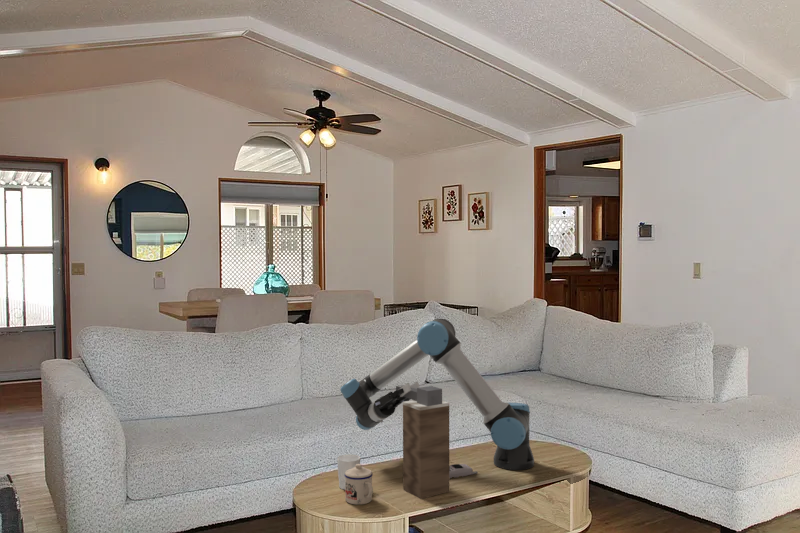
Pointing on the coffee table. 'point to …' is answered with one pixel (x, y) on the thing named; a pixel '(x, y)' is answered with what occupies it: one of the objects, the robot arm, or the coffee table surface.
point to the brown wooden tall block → (425, 449)
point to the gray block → (425, 395)
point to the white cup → (346, 467)
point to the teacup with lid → (358, 485)
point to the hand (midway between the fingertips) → (413, 386)
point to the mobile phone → (460, 470)
